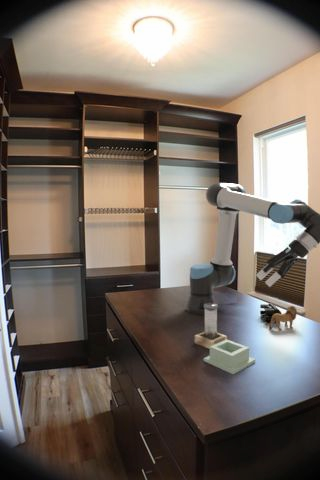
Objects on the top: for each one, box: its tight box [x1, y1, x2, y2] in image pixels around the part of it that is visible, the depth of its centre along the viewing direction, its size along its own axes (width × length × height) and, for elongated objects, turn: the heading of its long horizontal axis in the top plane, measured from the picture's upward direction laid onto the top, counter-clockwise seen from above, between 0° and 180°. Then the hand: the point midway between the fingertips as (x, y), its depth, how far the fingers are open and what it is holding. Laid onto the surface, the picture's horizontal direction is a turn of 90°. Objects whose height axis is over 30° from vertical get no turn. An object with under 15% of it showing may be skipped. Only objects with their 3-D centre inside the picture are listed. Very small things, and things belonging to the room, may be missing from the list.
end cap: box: [259, 302, 283, 324], centre depth 147 cm, size 10×7×7 cm
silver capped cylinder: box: [204, 302, 219, 340], centre depth 121 cm, size 5×5×15 cm
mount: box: [194, 331, 228, 350], centre depth 121 cm, size 9×9×3 cm
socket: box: [203, 339, 256, 375], centre depth 106 cm, size 12×12×5 cm
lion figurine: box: [268, 305, 298, 331], centre depth 136 cm, size 15×5×9 cm, turn 116°
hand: (262, 281), depth 131 cm, fingers open, 13 cm apart
